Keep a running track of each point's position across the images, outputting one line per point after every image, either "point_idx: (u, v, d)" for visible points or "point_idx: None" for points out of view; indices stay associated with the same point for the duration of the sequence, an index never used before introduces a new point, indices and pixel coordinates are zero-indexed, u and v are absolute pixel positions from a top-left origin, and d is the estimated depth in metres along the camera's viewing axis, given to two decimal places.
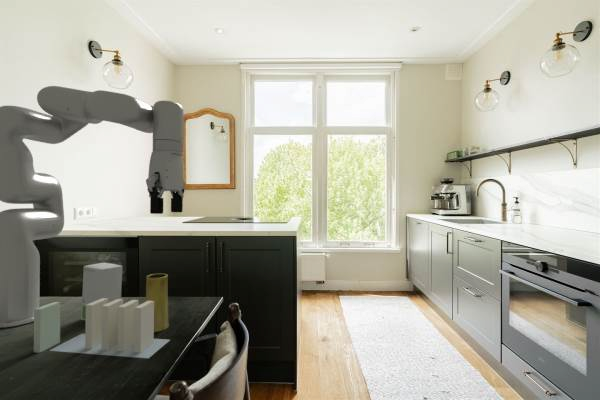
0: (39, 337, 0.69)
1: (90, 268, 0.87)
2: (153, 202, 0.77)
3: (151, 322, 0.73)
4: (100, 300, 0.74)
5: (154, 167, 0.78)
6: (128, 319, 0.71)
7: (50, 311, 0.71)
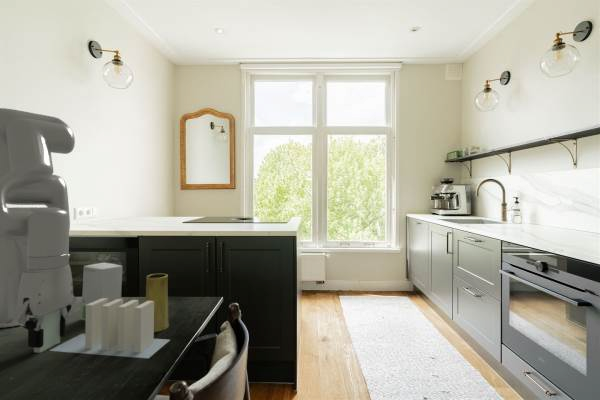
0: None
1: (90, 268, 0.87)
2: (30, 335, 0.68)
3: (151, 322, 0.73)
4: (100, 300, 0.74)
5: (23, 292, 0.67)
6: (128, 319, 0.71)
7: None
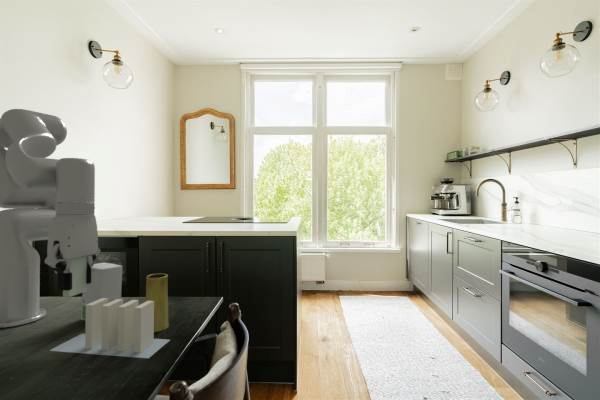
0: None
1: None
2: (59, 278, 0.70)
3: (151, 322, 0.73)
4: (100, 300, 0.74)
5: (53, 235, 0.69)
6: (128, 319, 0.71)
7: None
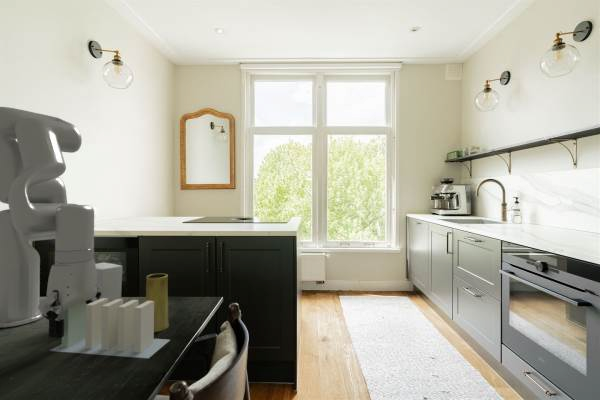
0: (67, 331, 0.71)
1: None
2: (51, 326, 0.68)
3: (151, 322, 0.73)
4: (100, 300, 0.74)
5: (53, 284, 0.69)
6: (128, 319, 0.71)
7: (76, 306, 0.74)
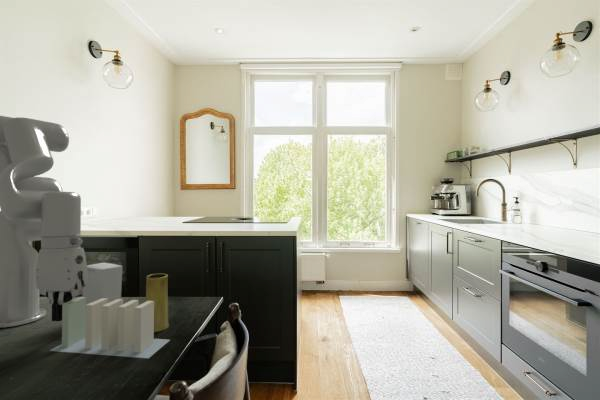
0: (67, 331, 0.71)
1: (90, 268, 0.87)
2: None
3: (151, 322, 0.73)
4: (100, 300, 0.74)
5: None
6: (128, 319, 0.71)
7: (77, 306, 0.74)
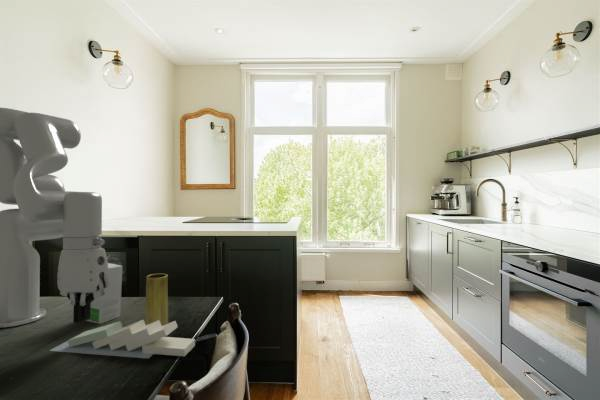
0: None
1: None
2: None
3: None
4: (140, 325, 0.73)
5: None
6: None
7: None
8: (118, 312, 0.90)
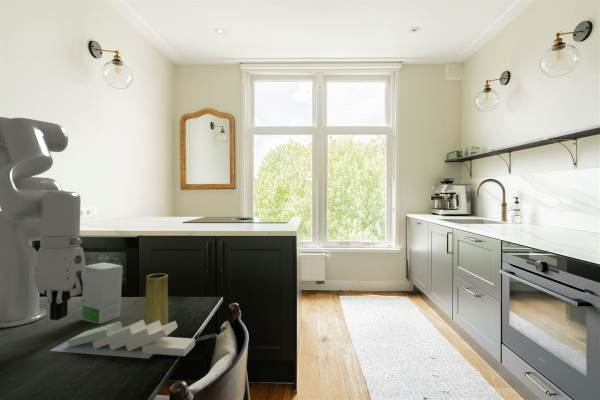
0: None
1: (90, 268, 0.87)
2: None
3: None
4: (140, 325, 0.73)
5: None
6: None
7: None
8: (118, 312, 0.90)
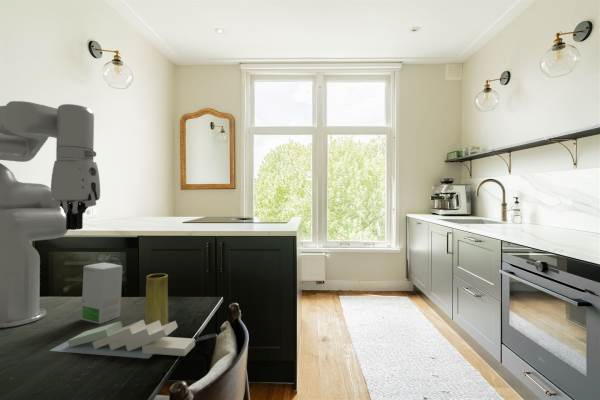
0: None
1: (90, 268, 0.87)
2: None
3: None
4: (140, 325, 0.73)
5: None
6: None
7: None
8: (118, 312, 0.90)
